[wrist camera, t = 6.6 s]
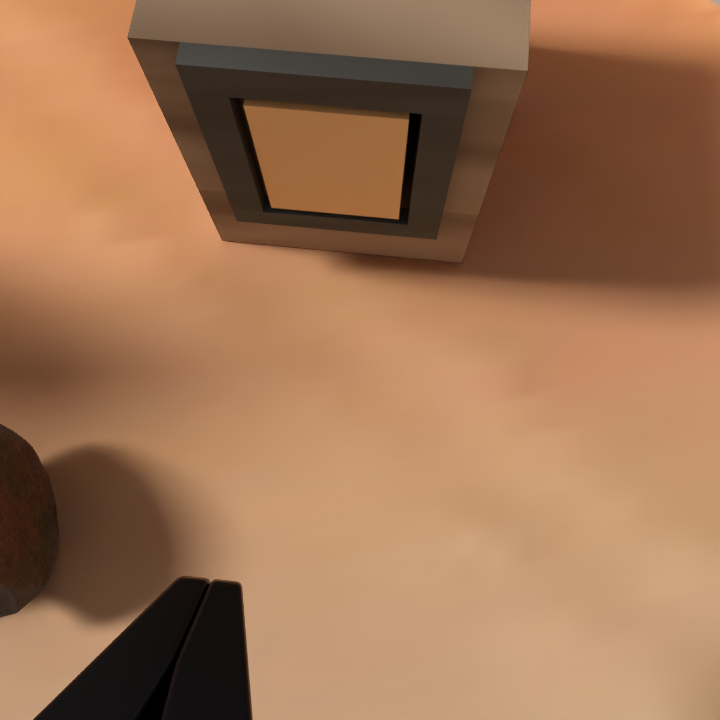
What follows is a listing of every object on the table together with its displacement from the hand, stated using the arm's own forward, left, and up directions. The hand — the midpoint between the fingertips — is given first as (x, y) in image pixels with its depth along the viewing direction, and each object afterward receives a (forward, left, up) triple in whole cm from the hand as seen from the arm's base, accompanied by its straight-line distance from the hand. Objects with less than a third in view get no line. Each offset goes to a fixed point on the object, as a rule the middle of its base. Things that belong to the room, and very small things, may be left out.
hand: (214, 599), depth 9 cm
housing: (+16, -2, -13) cm, 21 cm away
